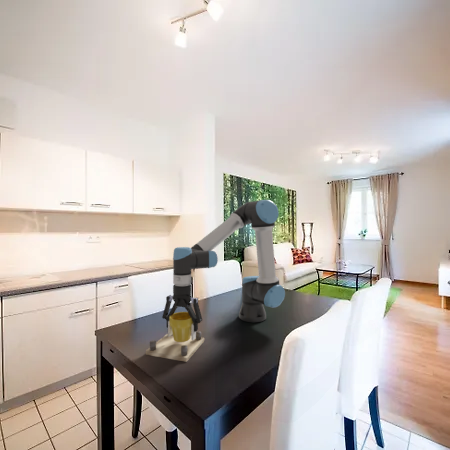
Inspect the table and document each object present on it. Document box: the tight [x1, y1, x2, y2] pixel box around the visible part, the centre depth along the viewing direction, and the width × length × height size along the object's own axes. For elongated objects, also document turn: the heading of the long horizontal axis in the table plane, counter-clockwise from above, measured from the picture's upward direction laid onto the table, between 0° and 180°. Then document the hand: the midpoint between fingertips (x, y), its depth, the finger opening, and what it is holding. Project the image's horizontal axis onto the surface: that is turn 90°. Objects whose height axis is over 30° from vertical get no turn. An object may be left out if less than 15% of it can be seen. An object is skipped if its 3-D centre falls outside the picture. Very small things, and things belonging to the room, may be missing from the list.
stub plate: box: [145, 330, 205, 362], centre depth 107 cm, size 18×18×4 cm
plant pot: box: [169, 311, 193, 342], centre depth 106 cm, size 10×10×10 cm
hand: (181, 337), depth 106 cm, fingers closed on plant pot, 10 cm apart
